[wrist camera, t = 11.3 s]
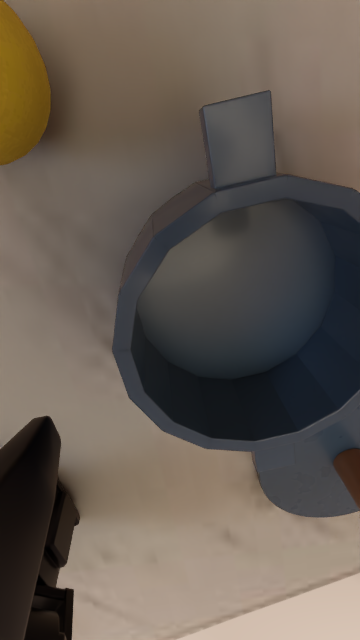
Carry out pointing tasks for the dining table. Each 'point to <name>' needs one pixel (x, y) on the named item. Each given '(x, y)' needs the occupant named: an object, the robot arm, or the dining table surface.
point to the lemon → (20, 89)
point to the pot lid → (320, 473)
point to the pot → (244, 299)
